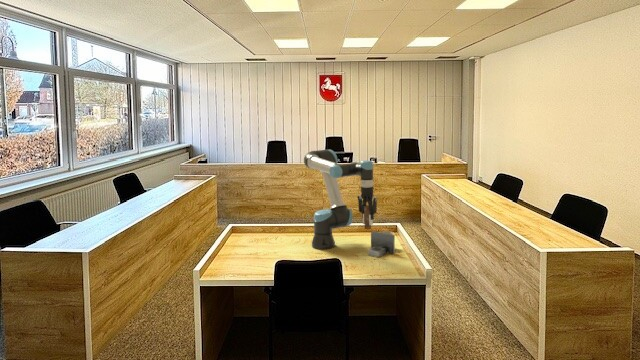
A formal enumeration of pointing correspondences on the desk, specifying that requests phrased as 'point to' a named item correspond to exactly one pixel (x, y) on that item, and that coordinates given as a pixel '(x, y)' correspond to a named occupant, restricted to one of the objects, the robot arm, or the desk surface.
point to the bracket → (381, 244)
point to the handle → (366, 217)
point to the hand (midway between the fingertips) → (367, 224)
